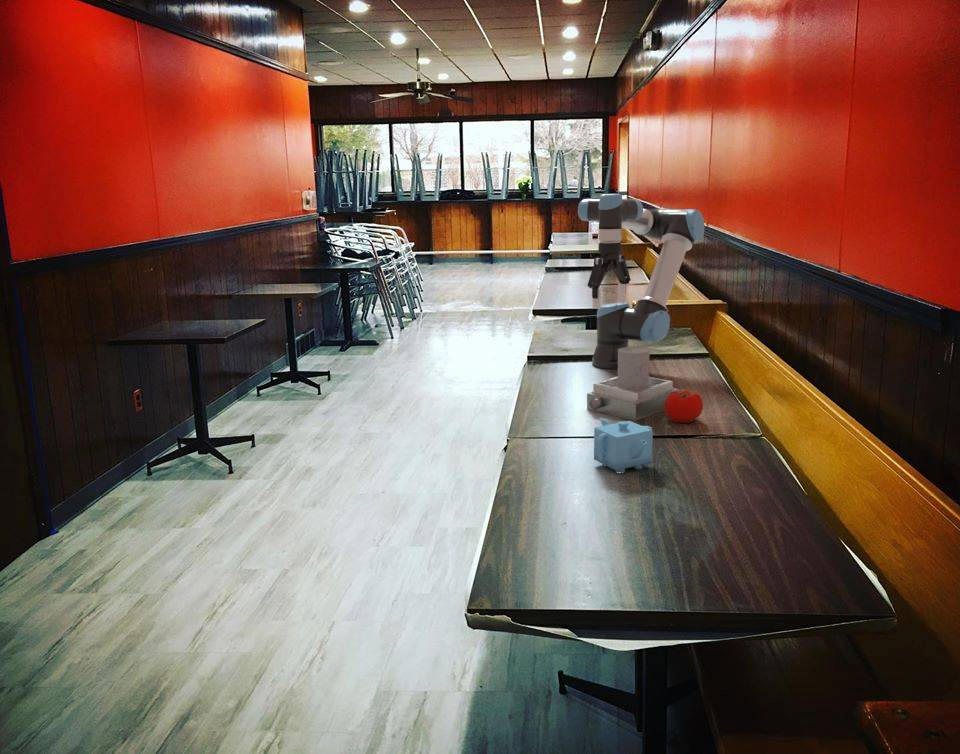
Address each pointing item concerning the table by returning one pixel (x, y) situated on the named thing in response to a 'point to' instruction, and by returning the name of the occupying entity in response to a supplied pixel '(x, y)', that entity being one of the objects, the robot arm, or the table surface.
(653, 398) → the gearbox
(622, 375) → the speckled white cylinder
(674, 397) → the tomato
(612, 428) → the teapot
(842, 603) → the table surface
